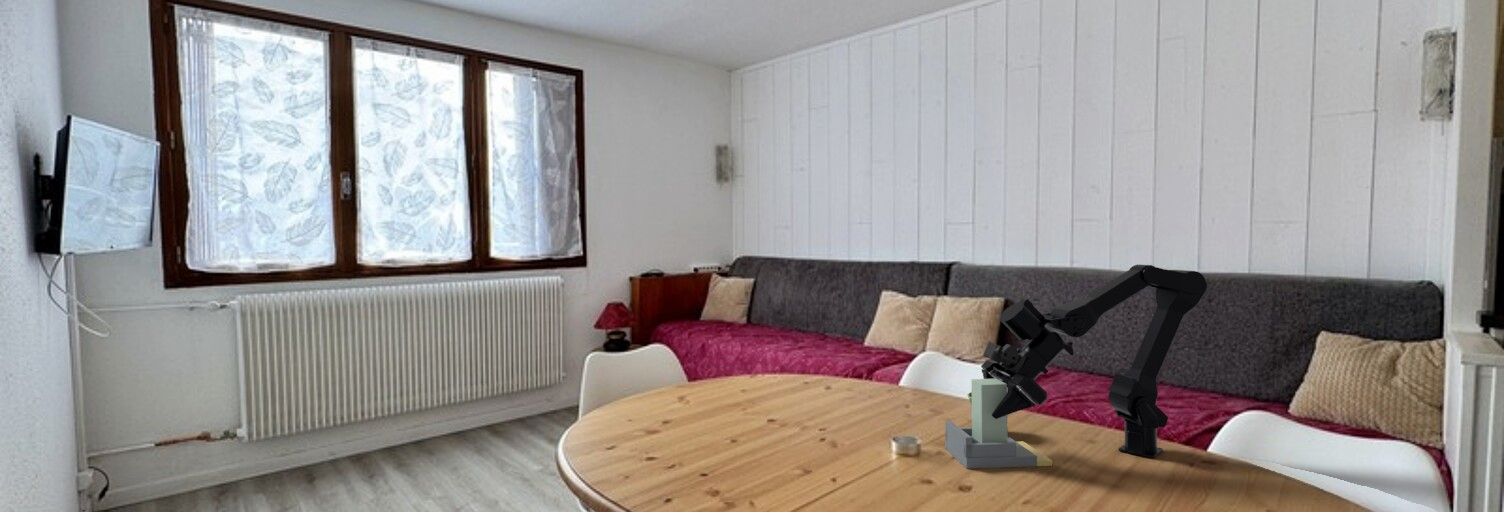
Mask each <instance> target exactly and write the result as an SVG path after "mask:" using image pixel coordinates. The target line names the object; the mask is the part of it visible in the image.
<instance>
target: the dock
mask: <svg viewBox="0 0 1504 512" xmlns="http://www.w3.org/2000/svg"><path fill="white" fill-rule="evenodd" d="M971 436H972V426H970V427H969V426H967V427H960V426H958V425H957V424H955V423H954V422H953V421H952V420H946V421H945V440H944V441H945V444H944V445H945V450H946V451H947V452H949V454H950V455H952V456H953V458H954V459H956V460H957V461H958V463H960V464H961V465H962V466H963V467H965V468H966V469H967V470H968V469H969V470H970V469H996V468H997V469H998V468H1022V467H1023V468H1025V467H1050V466H1051V467H1052V466H1053V460H1052V459H1051V458H1049V457H1048V456H1045V454H1043V453H1041V452H1040V451H1038V450H1037V449H1036V448H1034V447H1033V446H1031V445H1030V444H1028V443H1026V442H1025V441H1016V440H1014V439H1013V438H1011V436H1009V437H1008V442H997V443H972V437H971Z"/></svg>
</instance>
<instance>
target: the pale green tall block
mask: <svg viewBox="0 0 1504 512" xmlns="http://www.w3.org/2000/svg"><path fill="white" fill-rule="evenodd" d="M970 384H971V392H972V407H971V427H972V436H971V437H972V443H997V442H1008V415H1006V416H1003V417H1000V418H998V419H995V418H994V417H993V416H992V413H993V412H994V410H995V409H996V408H997V406H998V405H999V404H1000V402H1001V401H1002V400H1003V398H1004V397H1005V396H1006V394H1007V392H1008V388H1007V384H1006V383H1004V382H1002V381H1000V380H998V379H984V378H973V379H971V383H970Z"/></svg>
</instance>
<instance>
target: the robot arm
mask: <svg viewBox="0 0 1504 512" xmlns="http://www.w3.org/2000/svg"><path fill="white" fill-rule="evenodd" d="M1206 280H1207V279H1206V278H1205V277H1204V275H1203V274H1202V273H1200V272H1199V271H1195V270H1184V269H1183V270H1182V269H1166V268H1161V267H1157V266H1154V265H1151V264H1134V265H1133V266H1131V267H1130V268H1129V270H1127V271H1125V272H1124V273H1122V274H1121V275H1119V276H1117V277H1116V278H1114V279H1113V280H1111V281H1109V282H1107V283H1106V284H1105V285H1103V286H1101V287H1099V288H1098V289H1097V290H1096V289H1095V291H1093V292H1092V293H1090V294H1088V295H1087V296H1085V297H1083V298H1079V299H1075V300H1072V301H1069V302H1065V303H1064V304H1061V305H1058V306H1056V307H1054V308H1053V309H1052V310H1051V311H1050V312H1044V313H1041V312H1040V311H1039V310H1038V309H1037V308H1036V307H1035V306H1034V304H1033V303H1032V302H1031V301H1030V300H1029V299H1028V298H1022V299H1020V300H1019V302H1015V303H1013V304H1012V305H1011V306H1009V307H1006V308H1005V309H1004V310H1003V312H1002V313H1001V315H1000V317H999V320H1000V322H1001V323H1002V324H1003V325H1005V327H1007V328H1008V329H1009V331H1010V332H1011V333H1012V334H1014V335H1015V336H1016V337H1017V339H1019V340H1020V341H1025V340H1027V341H1028V342H1027V343H1026V344H1025V345H1024V347H1022V348H1019V347H1015V346H1013V345H1011V344H1008V343H1006V344H1005V345H1004V346H1001V345H999V344H997V343H993V342H991V341H988V343H987V346H986V348H985V349H984V352H983V354H982V356H983V357H986V358H988V359H987V360H985V361H984V362H983V364H982V365H980V367H981V373H982V377H983V378H982V379H998V380H1000V381H1002V382H1004V383H1006V384H1007V394H1006V396H1005V397H1004V398H1003V400H1002V401H1001V402H1000V404H999V405H998V406H997V408H996V409H995V410H994V412H993V413H992V416H993V417H994V418H995V419H998V418H1000V417H1003V416H1006V415H1007V416H1009V415H1010V414H1013V413H1016V412H1020V411H1022V410H1026V409H1028V408H1029V409H1030V408H1035V407H1036V405H1037V406H1039V407H1041V406H1043V404H1045V402H1046V401H1047V400H1048V392H1047V391H1046V390H1045V389H1044V388H1043V387H1042V386H1041V385H1040V384H1039V383H1038V382H1036V379H1037V378H1038V377H1039V376H1040V375H1041V374H1042V375H1045V376H1046V374H1048V373H1049V370H1048V369H1047V368H1048V366H1049V365H1050V364H1051V363H1052V362H1053V361H1054V360H1055V359H1056V358H1057V357H1058V356H1059V355H1060V353H1062V354H1066V355H1069V356H1071V357H1072V356H1074V355H1075V353H1074V348H1073V344H1074V343H1073V341H1071V340H1065V339H1064V338H1063V336H1061V335H1064V336H1067V337H1068V336H1069V337H1072V338H1081V337H1083V336H1085V335H1086V334H1088V332H1090V330H1092V329H1093V328H1094V327H1095V326H1096V325H1097V324H1098V322H1099V319H1100V318H1101V317H1102V316H1103V315H1105V314H1106V313H1107V312H1108V311H1110V310H1112V309H1113V308H1115V307H1116V306H1118V305H1120V304H1121V303H1123V302H1124V301H1127V300H1128V299H1129V298H1131V297H1133V296H1134V295H1136V294H1138V293H1139V292H1140V291H1142V290H1143V289H1145V288H1147V287H1150V288H1154V289H1156V290H1155V292H1154V293H1155V294H1154V295H1155V301H1156V309H1155V311H1154V313H1153V315H1152V318H1151V321H1150V323H1149V325H1148V327H1147V329H1146V331H1145V334H1144V335H1143V336H1144V337H1143V339H1142V340H1141V343H1140V346H1139V348H1138V350H1137V352H1136V355H1135V357H1134V360H1133V361H1132V364H1131V366H1130V368H1129V369H1128V370H1127V371H1126V372H1125V373H1124V374H1121V373H1119V372H1116V373H1114V375H1113V378H1112V382H1111V384H1110V386H1109V387H1108V388H1107V391H1108V392H1109V393H1108V395H1107V397H1108V401H1109V403H1110V406H1111V407H1112V408H1113V409H1114V411H1115V414H1116V416H1117V417H1118V418H1122V419H1124V444H1123V445H1121V446H1119V447H1118V451H1120V452H1122V453H1123V452H1124V453H1128V454H1132V455H1137V456H1142V457H1147V458H1152V459H1153V458H1156V457H1158V456H1159V455H1160V454H1161V453H1163V452H1164V448H1162V447H1158V429H1159V428H1166V425H1167V423H1168V420H1169V416H1168V415H1166V413H1164V412H1163V410H1161V409H1160V408H1159V406H1157V405H1156V404H1157V401H1158V397H1159V391H1158V385H1157V379H1158V375H1159V374H1160V371H1161V369H1162V367H1163V364H1164V362H1165V360H1166V357H1167V355H1168V353H1169V351H1170V348H1171V346H1172V344H1173V342H1174V339H1175V337H1176V335H1177V332H1178V330H1179V328H1180V326H1181V323H1182V321H1183V319H1184V317H1185V315H1186V314H1188V313H1189V312H1190V311H1191V310H1193V309H1194V308H1195V307H1196V306H1198V304H1199V302H1201V300H1202V298H1203V297H1204V295H1205V294H1206V292H1207V289H1208V282H1207V281H1206ZM1047 327H1049V328H1051V330H1052V331H1050V330H1049V329H1048V328H1047ZM1060 334H1061V335H1060Z"/></svg>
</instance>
